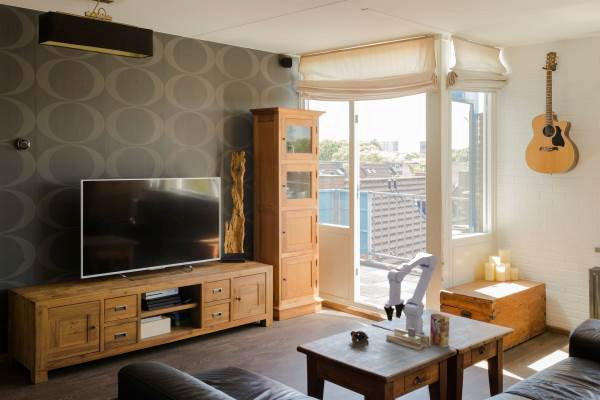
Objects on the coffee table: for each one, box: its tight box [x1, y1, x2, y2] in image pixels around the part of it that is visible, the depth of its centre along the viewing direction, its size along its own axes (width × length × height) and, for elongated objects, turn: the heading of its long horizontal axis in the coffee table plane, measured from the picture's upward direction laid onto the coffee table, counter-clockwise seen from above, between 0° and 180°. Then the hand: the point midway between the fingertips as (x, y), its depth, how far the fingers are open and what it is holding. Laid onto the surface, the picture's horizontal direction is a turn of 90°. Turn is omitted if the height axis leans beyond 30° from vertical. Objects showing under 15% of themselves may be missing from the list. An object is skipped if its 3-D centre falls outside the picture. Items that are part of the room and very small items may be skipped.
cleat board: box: [385, 327, 430, 351], centre depth 294 cm, size 9×20×4 cm, turn 45°
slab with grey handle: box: [402, 328, 421, 343], centre depth 292 cm, size 4×8×7 cm, turn 48°
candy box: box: [429, 312, 450, 349], centre depth 291 cm, size 9×4×15 cm, turn 39°
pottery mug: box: [349, 330, 370, 348], centre depth 291 cm, size 12×10×8 cm
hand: (394, 319), depth 300 cm, fingers open, 7 cm apart
